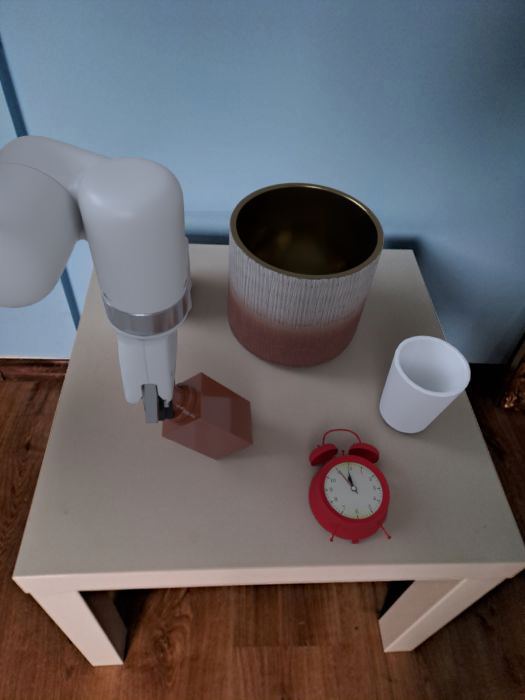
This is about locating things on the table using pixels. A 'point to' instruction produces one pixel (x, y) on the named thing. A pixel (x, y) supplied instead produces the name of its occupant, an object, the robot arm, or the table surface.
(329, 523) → the alarm clock
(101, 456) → the table surface
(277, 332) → the planter
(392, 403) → the cup
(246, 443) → the brown handled box
